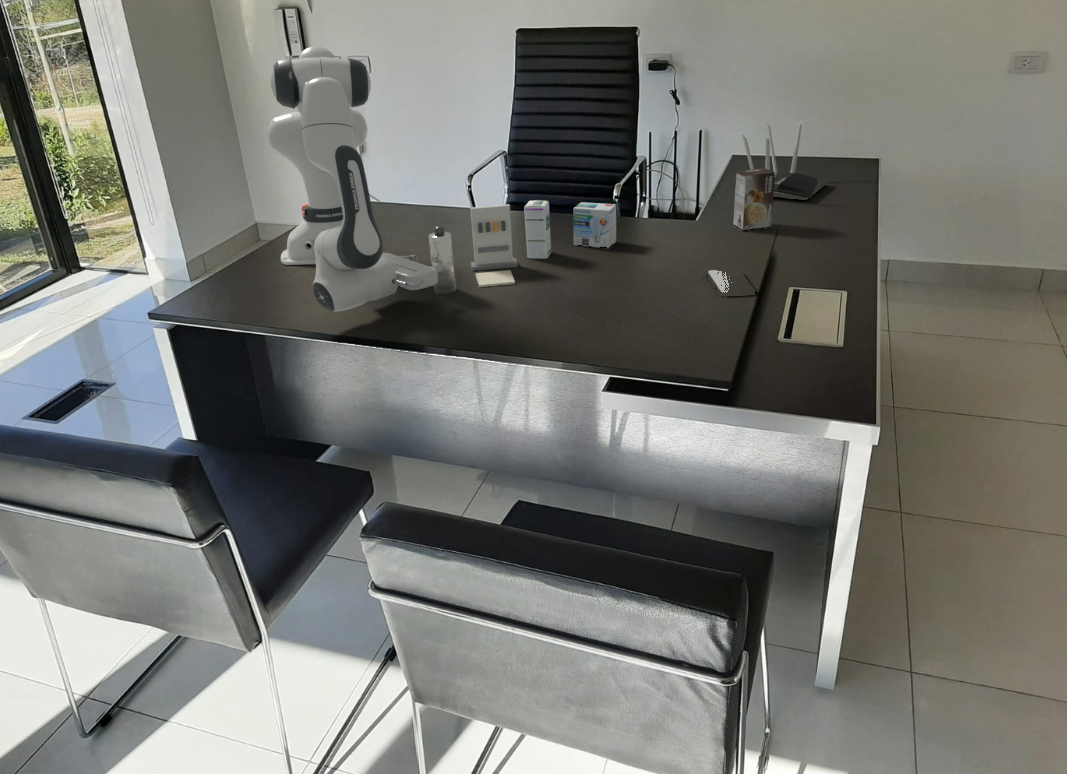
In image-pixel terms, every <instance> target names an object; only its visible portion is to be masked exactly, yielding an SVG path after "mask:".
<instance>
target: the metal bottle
mask: <svg viewBox="0 0 1067 774" xmlns="http://www.w3.org/2000/svg"><path fill="white" fill-rule="evenodd" d="M433 231H434V232H432V233H429V234H428V244H429V253H430V255H429V256H430V264H431V265H430V266H433V265H432V264H434V263H441V264H442V268H443V269H442V271H440V272H437V275H438V282H437V284H436V285H433V291H434V293H435V294H439V295H448V294H452V293H455V292H456V290H457V285H456V275H455V265H454V263H455V262H454V252H453V243H452V242H453V241H452V233H451V232H448V231H445V226H444V225H435V226H433Z"/></svg>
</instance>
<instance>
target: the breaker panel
mask: <svg viewBox="0 0 1067 774" xmlns="http://www.w3.org/2000/svg"><path fill="white" fill-rule="evenodd" d="M470 220H471V229H472V230H471V231H472V232H471V233H472V245H473V256H474V257H473V258H474V259H473V260H474V261H471V262H470V268H471V271H472V272H476V271H475V270H478V271H485V270H497V269H507V268H519V264H518V261H517V259H516V257H513V240H512V222H511V220H512V219H511V205H510V204H497V205H487V206H486V205H485V206H476V207H475V206H473V207H470Z"/></svg>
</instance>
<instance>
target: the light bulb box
mask: <svg viewBox="0 0 1067 774" xmlns="http://www.w3.org/2000/svg"><path fill="white" fill-rule="evenodd" d="M616 242H617V204H616V203H614V204H613V203H599V202H598V203H596V202H584V201H582V202H580V203H577V204H576V206H575V207H573V246H578V245H582V246H581V247H589V246H591V247H592V248H600V247H607V248H606V249H610V248H611V247H612V246H613V245H614V244H615V243H616ZM612 244H613V245H612ZM611 245H612V246H611ZM610 246H611V247H610ZM609 247H610V248H609Z"/></svg>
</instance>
